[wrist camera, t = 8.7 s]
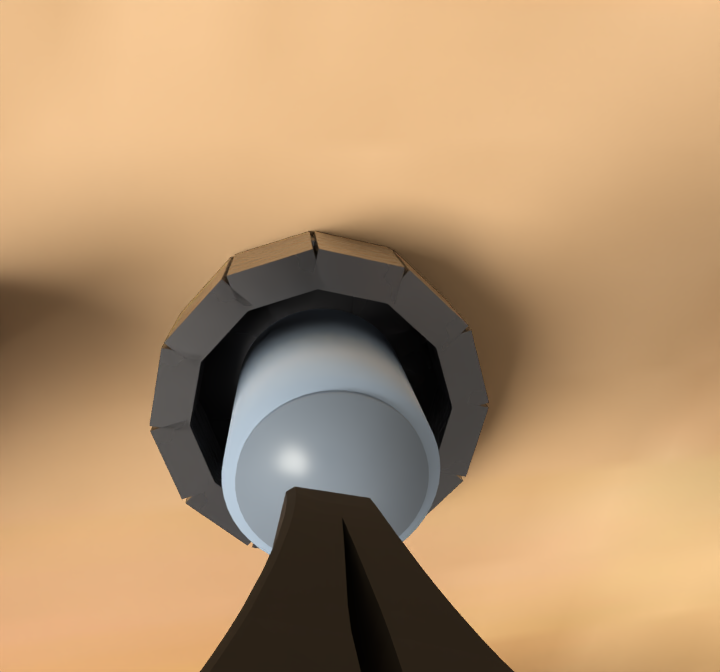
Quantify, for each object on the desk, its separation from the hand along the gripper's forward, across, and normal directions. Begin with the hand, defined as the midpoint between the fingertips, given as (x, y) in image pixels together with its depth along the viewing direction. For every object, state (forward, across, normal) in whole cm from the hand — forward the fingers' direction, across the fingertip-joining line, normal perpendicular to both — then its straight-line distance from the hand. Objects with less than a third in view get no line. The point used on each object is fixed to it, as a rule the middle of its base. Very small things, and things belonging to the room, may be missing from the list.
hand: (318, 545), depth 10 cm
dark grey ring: (+10, -1, +1) cm, 10 cm away
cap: (+9, -1, +1) cm, 9 cm away
